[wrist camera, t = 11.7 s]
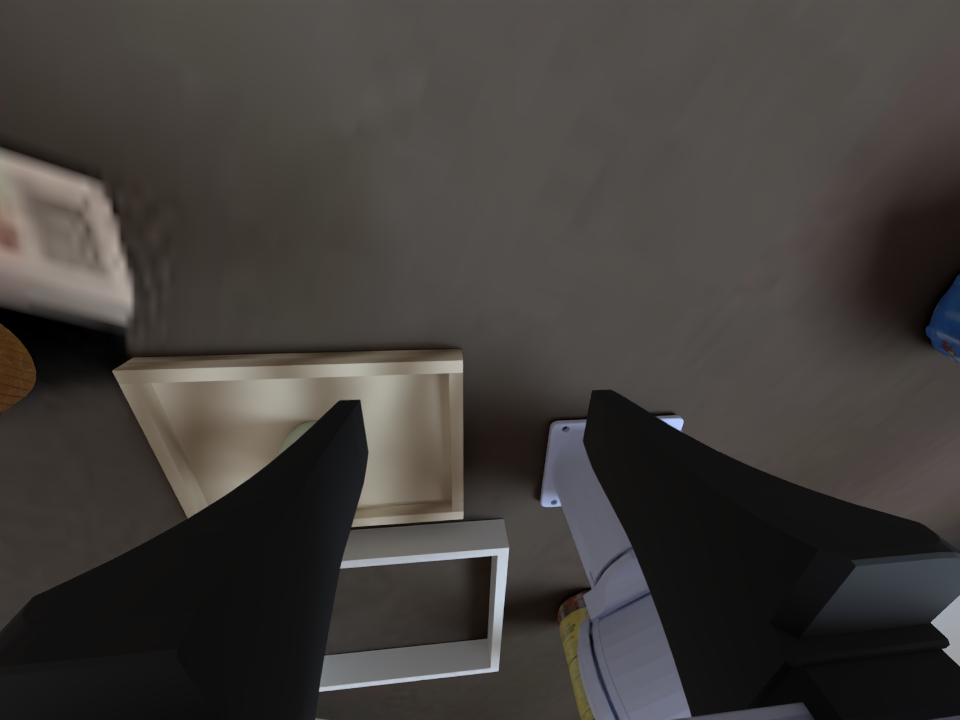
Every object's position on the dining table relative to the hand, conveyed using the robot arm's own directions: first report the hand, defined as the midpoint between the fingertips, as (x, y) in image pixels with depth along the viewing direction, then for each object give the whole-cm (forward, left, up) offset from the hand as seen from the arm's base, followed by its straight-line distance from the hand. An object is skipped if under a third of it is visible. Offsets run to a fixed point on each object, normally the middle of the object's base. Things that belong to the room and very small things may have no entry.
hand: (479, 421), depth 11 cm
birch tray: (+9, +9, -10) cm, 16 cm away
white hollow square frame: (+6, +27, -10) cm, 30 cm away
